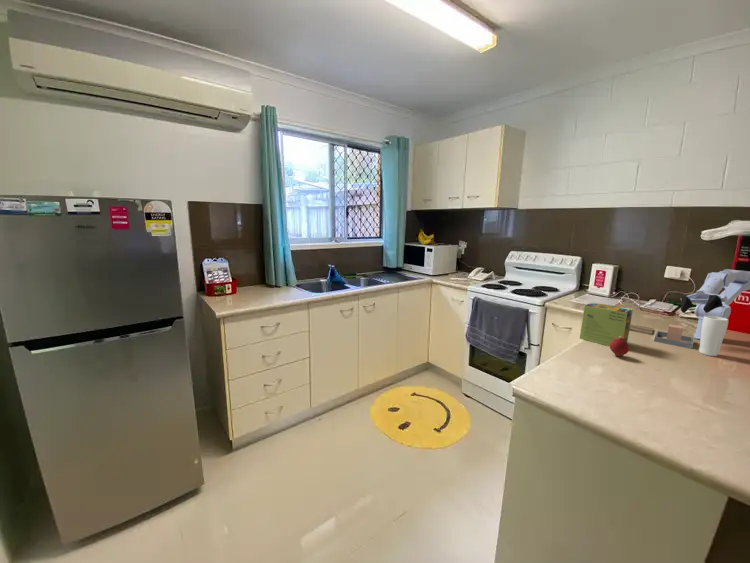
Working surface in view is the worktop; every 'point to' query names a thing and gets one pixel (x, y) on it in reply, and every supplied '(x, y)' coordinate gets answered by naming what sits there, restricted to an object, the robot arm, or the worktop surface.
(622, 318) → the protein box
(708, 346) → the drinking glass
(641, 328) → the board
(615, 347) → the pomegranate
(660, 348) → the worktop surface
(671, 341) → the square frame
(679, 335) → the block
